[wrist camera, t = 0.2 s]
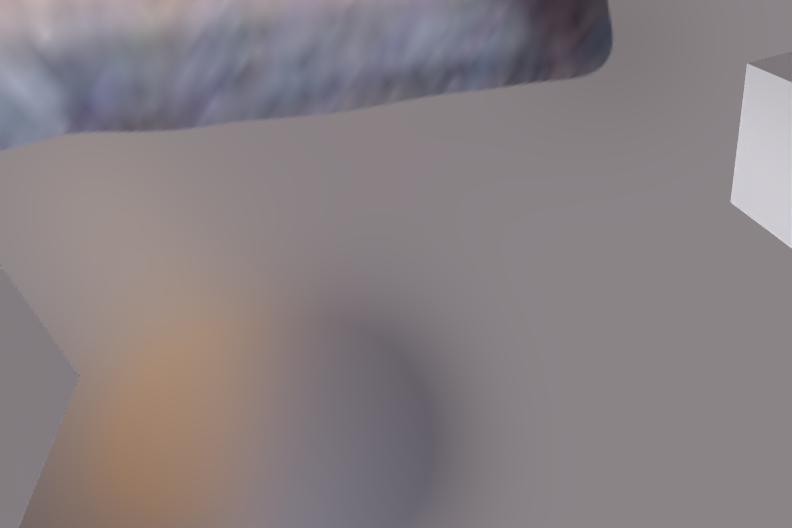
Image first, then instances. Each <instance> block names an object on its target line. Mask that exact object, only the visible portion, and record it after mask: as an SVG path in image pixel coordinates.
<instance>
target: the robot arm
mask: <svg viewBox="0 0 792 528" xmlns="http://www.w3.org/2000/svg"><path fill="white" fill-rule="evenodd" d="M734 170H735V171H734V178H733V186H732V194H731V203H732V204H733V205H735V206H736V207H738V208H739V209H740V210H742V211H743V212H744V213H745V214H747V215H748V216H750V217H751V218H752V219H753V220H755V221H756V222H758V223H759V224H760V225H761V226H763V227H764V228H765V229H767V230H768V231H769V232H771V233H772V234H773V235H775V236H776V237H777V238H779V239H780V240H781V241H783V242H784V243H785V244H787V245H788V246H789V247H791V248H792V52H789V53H785V54H781V55H777V56H774V57H770V58H766V59H763V60H759V61H755V62H751V63H748V64H747V70H746V78H745V86H744V95H743V103H742V113H741V120H740V128H739V137H738V145H737V153H736V162H735V169H734ZM79 376H80V375H79V374H78V372H77V371H76V370H75V368H74V367H73V365H72V364H71V363H70V361H69V360H68V359H67V357H66V356H65V354H64V353H63V351H62V350H61V349H60V348H59V346H58V344H57V343H56V342H55V340H54V339H53V338H52V336H51V335H50V333H49V332H48V331H47V329H46V328H45V327H44V325H43V324H42V322H41V321H40V319H39V318H38V317H37V315H36V314H35V312H34V311H33V310H32V308H31V307H30V306H29V304H28V303H27V301H26V300H25V299H24V297H23V296H22V294H21V293H20V292H19V290H18V289H17V287H16V286H15V285H14V283H13V282H12V281H11V279H10V278H9V276H8V275H7V273H6V272H5V271H4V269H3V268H2V267H1V265H0V528H19V525H20V523H21V521H22V518H23V516H24V513H25V511H26V508H27V506H28V503H29V501H30V498H31V496H32V493H33V491H34V488H35V486H36V483H37V481H38V479H39V476H40V473H41V471H42V469H43V466H44V464H45V461H46V458H47V456H48V454H49V451H50V448H51V446H52V444H53V441H54V439H55V436H56V434H57V431H58V429H59V426H60V424H61V421H62V419H63V416H64V414H65V411H66V409H67V406H68V404H69V401H70V399H71V396H72V394H73V391H74V389H75V386H76V383H77V381H78V379H79Z"/></svg>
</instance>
